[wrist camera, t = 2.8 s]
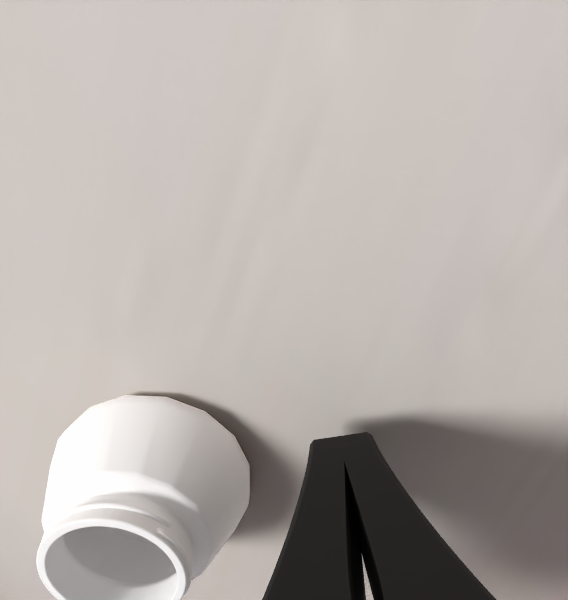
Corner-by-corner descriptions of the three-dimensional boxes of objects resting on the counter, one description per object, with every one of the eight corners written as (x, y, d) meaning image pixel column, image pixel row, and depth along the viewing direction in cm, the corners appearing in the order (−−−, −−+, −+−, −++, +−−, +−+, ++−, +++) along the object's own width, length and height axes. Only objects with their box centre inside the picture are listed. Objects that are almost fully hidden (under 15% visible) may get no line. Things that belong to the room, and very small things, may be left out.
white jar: (170, 554, 11) (289, 469, 10) (131, 679, 9) (287, 583, 7) (33, 459, 10) (148, 349, 9) (-62, 567, 8) (84, 431, 6)
